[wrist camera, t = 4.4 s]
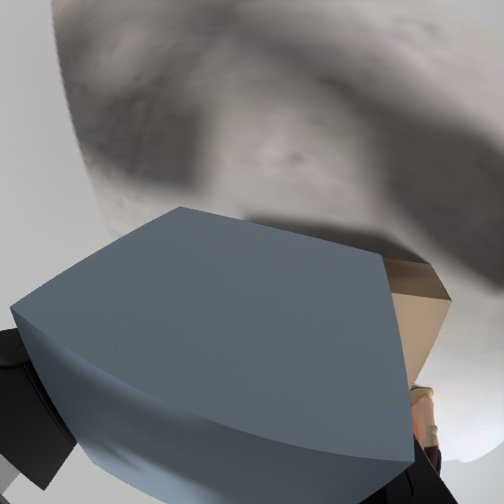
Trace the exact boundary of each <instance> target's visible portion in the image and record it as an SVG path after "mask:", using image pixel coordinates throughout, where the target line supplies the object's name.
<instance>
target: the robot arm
mask: <svg viewBox="0 0 504 504" xmlns="http://www.w3.org/2000/svg"><path fill="white" fill-rule="evenodd" d="M413 438H414V458H415V462H414V463H413V464H411V465H410V466H409V467H408V468H406V469H405V470H404V471H403V472H402V473H400V474H399V475H398V476H396V477H395V478H394V479H393V480H391V481H390V482H389V483H387V484H386V485H385V486H383V487H382V488H380V489H379V490H378V491H376V492H375V493H373V494H372V495H370V496H369V497H367V498H366V499H364V500H363V501H361V502H360V503H358V504H458V503H457V501H456V500H455V498H454V497H453V495H452V494H451V492H450V491H449V489H448V488H447V487H446V485H445V484H444V482H443V481H442V480H441V478H440V476H439V475H438V473H437V472H436V470H435V469H434V467H433V466H432V464H431V462H430V461H429V459H428V457H427V456H426V454H425V452H424V450H423V449H422V447H421V445H420V443H419V441H418V440H417V439H416V436H415V434H414V433H413ZM77 443H78V442H77V440H76V439H75V437H74V436H73V434H72V433H71V431H70V430H69V428H68V427H67V425H66V424H65V422H64V420H63V419H62V417H61V416H60V414H59V412H58V411H57V409H56V407H55V405H54V404H53V402H52V400H51V398H50V397H49V395H48V393H47V391H46V389H45V387H44V386H43V384H42V382H41V380H40V378H39V376H38V374H37V372H36V370H35V368H34V365H33V363H32V361H31V359H30V357H29V355H28V352H27V350H26V348H25V345H24V343H23V341H22V338H21V336H20V333H19V331H18V328H13V329H8V330H2V331H0V504H10V503H9V502H8V501H7V500H6V499H5V498H4V497H3V496H2V494H3V493H4V491H5V490H6V489H7V487H9V485H10V484H11V483H12V482H13V481H14V479H15V478H16V477H17V476H18V475H19V473H20V472H21V473H22V474H23V475H25V476H26V477H27V478H28V479H29V480H30V481H32V482H33V483H34V484H35V485H37V486H38V487H39V488H41V489H42V490H45V489H46V488H47V486H48V485H49V483H50V482H51V480H52V479H53V478H54V476H55V475H56V473H57V471H58V470H59V469H60V467H61V466H62V464H63V463H64V462H65V460H66V459H67V457H68V456H69V454H70V453H71V452H72V450H73V449H74V447H75V446H76V444H77Z"/></svg>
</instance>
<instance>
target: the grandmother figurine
mask: <svg viewBox="0 0 504 504" xmlns="http://www.w3.org/2000/svg"><path fill="white" fill-rule="evenodd" d="M409 395H410V403H411V404H412V406H411V413H412V424H413V433H414V434H415V436H416V439H417V440H418V441H419V443H420V445H421V447H422V449H423V450H424V452H425V454H426V456H427V457H428V459H429V461H430V462H431V464H432V466H433V467H434V469H435V470H436V472H437V473H438V475H439V476H440V469H441V458H442V457H441V452H440V450H439V444H438V439H437V436H436V434H437V426H436V425H435V423H434V412H433V406H434V405H433V402H432V399H431V397H432V395H433V390H432V389H430V388H416V389H413V390H411V391H409Z"/></svg>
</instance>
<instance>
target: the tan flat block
mask: <svg viewBox="0 0 504 504" xmlns="http://www.w3.org/2000/svg"><path fill="white" fill-rule="evenodd" d="M382 260H383V264H384V267H385V271H386V275H387V279H388V283H389V287H390V291H391V295H392V299H393V303H394V308H395V312H396V317H397V322H398V327H399V332H400V337H401V342H402V348H403V354H404V360H405V366H406V372H407V379H408V387H409V391H410V389H411V387H412V386H413V384H414V382H415V380H416V378H417V376H418V375H419V373H420V371H421V369H422V367H423V365H424V363H425V361H426V359H427V357H428V355H429V353H430V351H431V349H432V347H433V344H434V342H435V340H436V338H437V336H438V333H439V331H440V329H441V326H442V324H443V322H444V319H445V317H446V314H447V312H448V309H449V307H450V304H451V301H452V300H451V298H450V297H449V295H448V293H447V291H446V289H445V288H444V286H443V284H442V282H441V281H440V279H439V277H438V276H437V274H436V272H435V271H434V269H433V267H432V266H431V264H424V263H418V262H412V261H405V260H399V259H392V258H386V257H382Z"/></svg>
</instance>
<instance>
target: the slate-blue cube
mask: <svg viewBox="0 0 504 504" xmlns="http://www.w3.org/2000/svg"><path fill="white" fill-rule="evenodd" d="M10 309H11V312H12V314H13V317H14V320H15V323H16V326H17V328H18V331H19V333H20V336H21V338H22V341H23V343H24V345H25V348H26V350H27V352H28V355H29V357H30V359H31V361H32V363H33V365H34V368H35V370H36V372H37V374H38V376H39V378H40V380H41V382H42V384H43V386H44V387H45V389H46V391H47V393H48V395H49V397H50V398H51V400H52V402H53V404H54V405H55V407H56V409H57V411H58V412H59V414H60V416H61V417H62V419H63V420H64V422H65V424H66V425H67V427H68V428H69V430H70V431H71V433H72V434H73V436H74V437H75V439H76V440H77V442H78V443H79V444H80V446H81V447H82V448H83V450H84V452H85V453H86V454H87V456H88V457H89V458H90V460H91V461H92V462H93V463H94V464H95V465H97V466H99V467H100V468H102V469H103V470H105V471H107V472H108V473H110V474H112V475H113V476H115V477H116V478H118V479H120V480H122V481H124V482H125V483H127V484H129V485H131V486H133V487H134V488H136V489H138V490H140V491H142V492H144V493H146V494H148V495H150V496H152V497H154V498H157V499H158V500H160V501H163V502H165V503H167V504H358V503H360V502H361V501H363V500H364V499H366V498H367V497H369V496H370V495H372V494H373V493H375V492H376V491H378V490H379V489H380V488H382V487H383V486H385V485H386V484H387V483H389V482H390V481H391V480H393V479H394V478H395V477H396V476H398V475H399V474H400V473H402V472H403V471H404V470H405V469H406V468H408V467H409V466H410V465H411V464H413V463H414V462H415V458H414V438H413V424H412V413H411V403H410V395H409V387H408V379H407V372H406V366H405V360H404V354H403V348H402V342H401V337H400V332H399V327H398V322H397V317H396V312H395V308H394V303H393V299H392V295H391V291H390V287H389V283H388V279H387V275H386V271H385V267H384V264H383V260H382V256H381V254H377V253H373V252H369V251H366V250H362V249H358V248H354V247H350V246H346V245H342V244H338V243H334V242H330V241H327V240H323V239H318V238H314V237H310V236H306V235H302V234H298V233H294V232H290V231H286V230H282V229H277V228H273V227H269V226H265V225H260V224H256V223H252V222H247V221H243V220H239V219H234V218H230V217H225V216H221V215H216V214H212V213H207V212H203V211H198V210H193V209H189V208H184V207H178V208H176V209H174V210H172V211H170V212H168V213H166V214H164V215H162V216H160V217H158V218H156V219H154V220H152V221H151V222H149V223H147V224H145V225H143V226H141V227H139V228H138V229H136V230H134V231H132V232H130V233H128V234H127V235H125V236H123V237H121V238H119V239H118V240H116V241H114V242H112V243H111V244H109V245H107V246H105V247H104V248H102V249H100V250H99V251H97V252H95V253H94V254H92V255H90V256H88V257H87V258H85V259H83V260H82V261H80V262H78V263H77V264H75V265H73V266H72V267H70V268H69V269H67V270H65V271H64V272H62V273H61V274H59V275H57V276H56V277H54V278H53V279H51V280H49V281H48V282H46V283H45V284H43V285H42V286H40V287H39V288H37V289H36V290H34V291H33V292H31V293H30V294H28V295H27V296H25V297H24V298H22V299H21V300H19V301H18V302H16V303H15V304H13V305H12V306H11V307H10Z"/></svg>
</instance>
